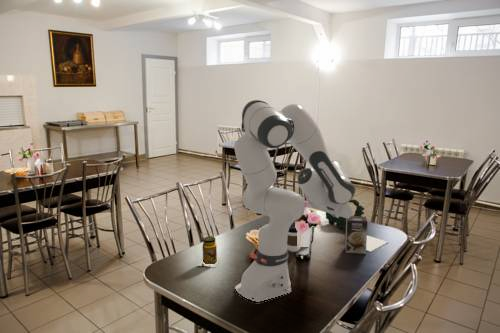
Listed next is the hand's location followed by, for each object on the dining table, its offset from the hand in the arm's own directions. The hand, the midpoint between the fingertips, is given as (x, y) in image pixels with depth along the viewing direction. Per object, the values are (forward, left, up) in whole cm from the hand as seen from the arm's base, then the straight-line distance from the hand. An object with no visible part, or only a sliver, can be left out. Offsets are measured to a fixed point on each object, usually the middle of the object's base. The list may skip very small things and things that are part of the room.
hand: (336, 215), depth 158 cm
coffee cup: (-3, +21, -22) cm, 31 cm away
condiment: (-42, +36, -22) cm, 60 cm away
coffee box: (+17, 0, -22) cm, 27 cm away
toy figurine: (+37, +23, -22) cm, 49 cm away
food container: (+11, +23, -22) cm, 34 cm away
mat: (+29, +1, -22) cm, 36 cm away
